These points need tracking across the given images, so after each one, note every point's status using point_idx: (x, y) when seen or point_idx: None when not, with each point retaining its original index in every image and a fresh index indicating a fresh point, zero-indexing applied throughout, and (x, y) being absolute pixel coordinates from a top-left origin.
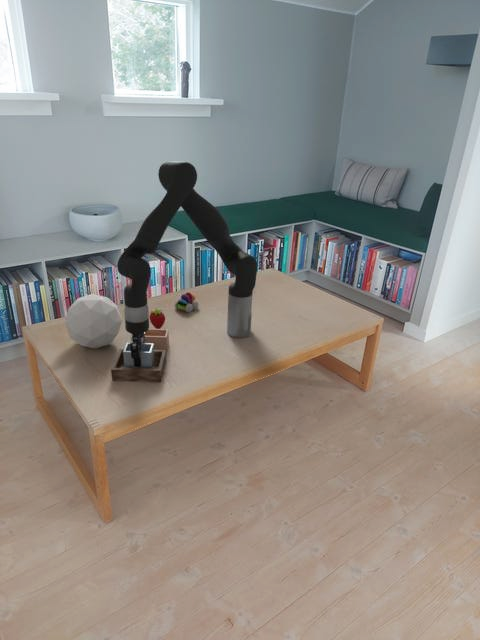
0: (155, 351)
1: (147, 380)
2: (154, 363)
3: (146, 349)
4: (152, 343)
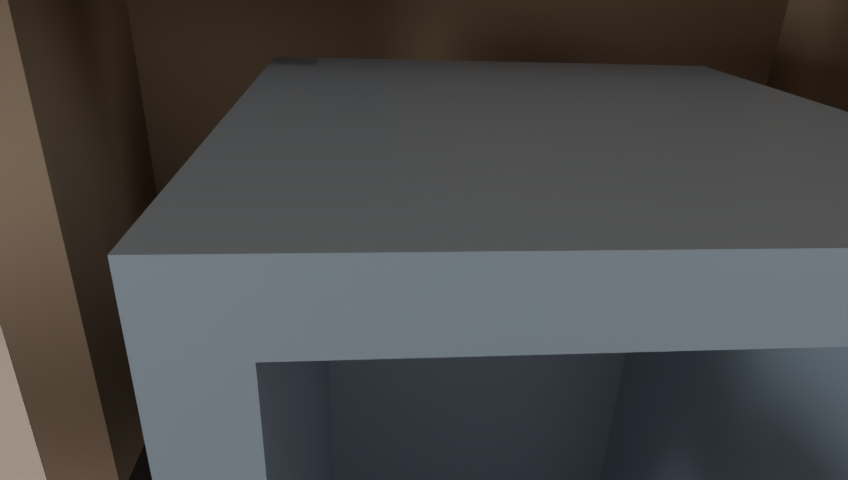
0: (24, 58)
1: None
2: (280, 38)
3: (301, 384)
4: (140, 325)
